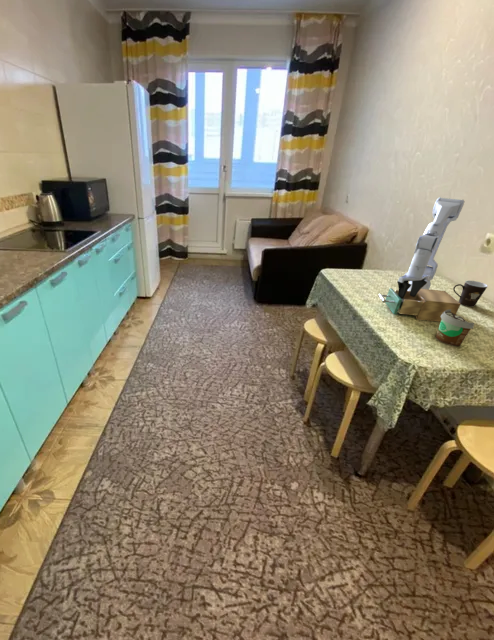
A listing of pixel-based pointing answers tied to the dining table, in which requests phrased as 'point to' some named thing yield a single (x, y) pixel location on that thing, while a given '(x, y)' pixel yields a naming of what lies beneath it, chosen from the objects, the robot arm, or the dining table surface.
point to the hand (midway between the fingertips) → (406, 296)
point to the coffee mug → (471, 292)
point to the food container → (453, 329)
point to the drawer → (409, 304)
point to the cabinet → (436, 304)
